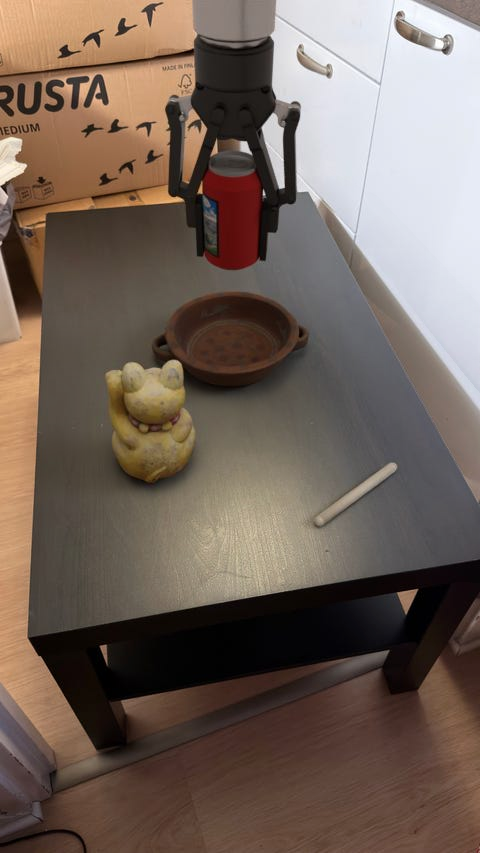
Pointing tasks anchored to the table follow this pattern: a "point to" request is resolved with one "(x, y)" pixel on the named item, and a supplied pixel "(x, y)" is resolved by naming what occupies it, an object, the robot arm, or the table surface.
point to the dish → (230, 337)
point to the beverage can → (232, 210)
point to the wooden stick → (355, 494)
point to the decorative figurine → (150, 420)
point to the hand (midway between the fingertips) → (232, 252)
